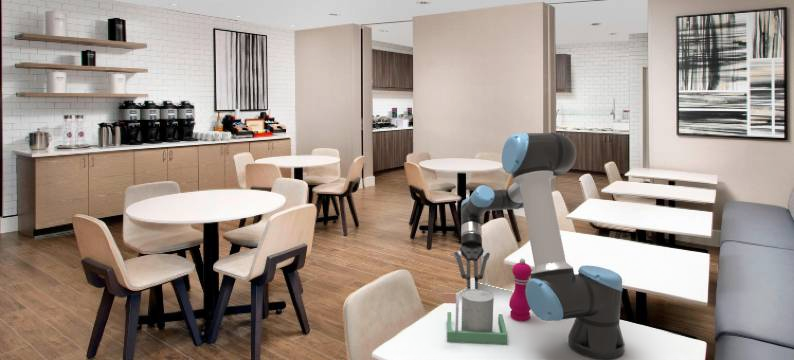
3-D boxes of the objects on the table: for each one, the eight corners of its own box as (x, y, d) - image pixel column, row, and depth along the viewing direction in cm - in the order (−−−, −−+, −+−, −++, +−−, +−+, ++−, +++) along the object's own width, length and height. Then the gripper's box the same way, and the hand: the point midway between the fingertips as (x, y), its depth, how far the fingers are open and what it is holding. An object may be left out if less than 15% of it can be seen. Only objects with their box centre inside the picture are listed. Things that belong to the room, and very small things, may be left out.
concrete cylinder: (491, 342, 151) (493, 302, 149) (459, 338, 153) (460, 299, 151) (493, 328, 160) (494, 290, 158) (462, 325, 162) (463, 288, 160)
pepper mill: (507, 312, 171) (510, 254, 168) (529, 313, 170) (532, 255, 167) (509, 321, 164) (511, 261, 161) (532, 322, 163) (535, 262, 160)
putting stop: (502, 323, 163) (503, 278, 161) (507, 344, 149) (509, 295, 147) (442, 320, 165) (443, 276, 162) (442, 341, 151) (443, 293, 149)
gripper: (488, 242, 192) (490, 302, 178) (453, 241, 193) (453, 300, 180) (490, 232, 186) (492, 293, 172) (454, 231, 187) (453, 292, 174)
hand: (472, 297), depth 176 cm, fingers closed
